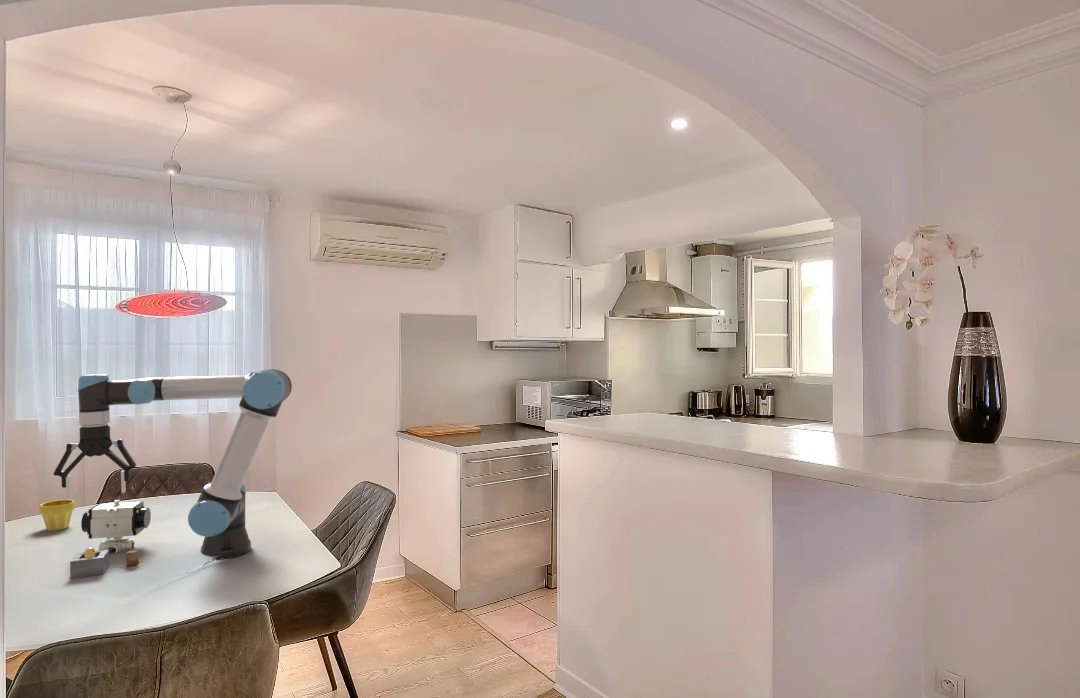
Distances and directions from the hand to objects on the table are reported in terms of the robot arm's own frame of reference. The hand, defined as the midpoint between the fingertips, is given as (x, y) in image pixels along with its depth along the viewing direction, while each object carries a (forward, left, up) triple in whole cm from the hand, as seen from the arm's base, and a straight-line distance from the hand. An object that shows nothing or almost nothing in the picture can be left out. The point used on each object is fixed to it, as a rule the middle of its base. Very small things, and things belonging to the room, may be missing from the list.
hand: (96, 495), depth 186 cm
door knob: (0, +2, -24) cm, 24 cm away
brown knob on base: (-7, -6, -24) cm, 26 cm away
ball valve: (+11, -16, -24) cm, 31 cm away
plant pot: (+59, -33, -24) cm, 72 cm away
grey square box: (0, +2, -23) cm, 23 cm away
